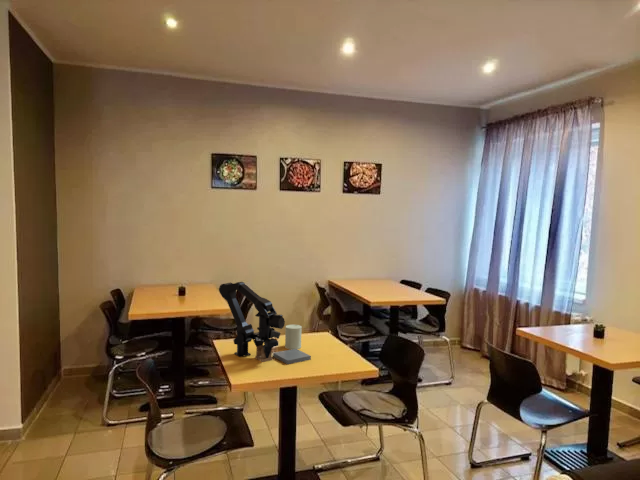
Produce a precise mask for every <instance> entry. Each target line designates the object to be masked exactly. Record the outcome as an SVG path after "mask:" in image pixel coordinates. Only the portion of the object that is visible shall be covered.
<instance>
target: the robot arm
mask: <svg viewBox="0 0 640 480" xmlns="http://www.w3.org/2000/svg"><path fill="white" fill-rule="evenodd" d="M218 291H219V294H220V295H221V297H222V299H224V300H225V301H226V302H227V304H228V307H229V309H230V311H231V314H232V317H233V319H234V322H235V324H236V334H237V336H236V337H235V338H234V339H232V340H233V344H234V345H236V351H235V352H234V355H236V356H238V357H240V358H241V357H246V356H251V354H252V353H250V352H249V343H251V342H253V343H254V345H255V347H256V348H257V346H261V345H263V349H264V352H265V356H266V358H268V357H269V354H270V352H271V349H272V350H273V348H274V347H278V346H279V341H278V340H279V339H280V337H281V332H279V331H277V330H275V329H278V330H282V329H283V328H284V327H285V323H286V321H285V318H284V315H283V314H278V313H277V311H276V309H275V307H274V306H273V302H272V301H271V300H269V299H267V298H265V297H262V296H260V295H259V294H258V293H256V292H255V291H254V290H253V289H251V288H250V287H249V286H248V285H246V283H245V282H244V281H238V282H235V283H233V282H225V283H221V284H220V285H219V288H218ZM237 291H238V292H239V293H240V294H241V295H243V296H244V297H245V298H246V299H247V300H248V301H250V302H251V303H252V304H253V307H254V308H255V309H256V311H257V313H256V314H255V317H258V327H257V328H256V329H257V330H258V332H255V330H254V327H253V325H252V324H250V323H247V321H246V319H245V316H244V314H243V312H242V309H241V306H240V304H239V301H238V299H237Z"/></svg>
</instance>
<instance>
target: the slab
mask: <svg viewBox="0 0 640 480" xmlns="http://www.w3.org/2000/svg"><path fill="white" fill-rule="evenodd" d="M273 356H274V357H273ZM272 357H273V358H275V359H277V360H278V361H281V362H282V363H284V364H286V365H291V364H297V363H300V362H307V361H310V360H311V359H312V355H310V354H308V353H306V352H304V351H301V350H300V349H287V350H280V351H275V352H273V353H272Z"/></svg>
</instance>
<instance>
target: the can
mask: <svg viewBox="0 0 640 480" xmlns="http://www.w3.org/2000/svg"><path fill="white" fill-rule="evenodd" d="M284 327H285V330H284V332H285V333H284V334H285V339H284V341H285V343H284V348H285V349H287V350H291V349H298V350H300V349H301V348H302V332H303V331H302V330H303V329H302V328H303V326H302V325H300V324H287V325H284Z"/></svg>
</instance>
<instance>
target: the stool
mask: <svg viewBox="0 0 640 480" xmlns="http://www.w3.org/2000/svg"><path fill="white" fill-rule="evenodd" d="M263 345H264V344H263ZM263 345H261V346H257V347H256V351H255V353H256V354H255V357H254V358H255V359H256V360H258V361H259V362H261V363H264V362H269V361H273V353H272V350H273V348H272V349H271V352H270V354H269V357H268V358H266V356H265V352H264V349H263Z"/></svg>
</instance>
